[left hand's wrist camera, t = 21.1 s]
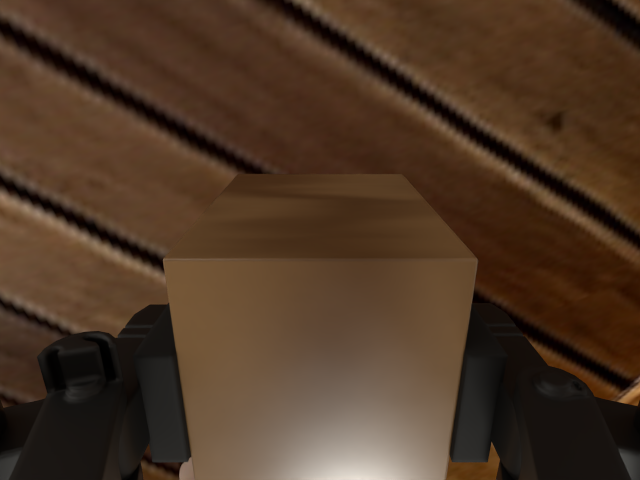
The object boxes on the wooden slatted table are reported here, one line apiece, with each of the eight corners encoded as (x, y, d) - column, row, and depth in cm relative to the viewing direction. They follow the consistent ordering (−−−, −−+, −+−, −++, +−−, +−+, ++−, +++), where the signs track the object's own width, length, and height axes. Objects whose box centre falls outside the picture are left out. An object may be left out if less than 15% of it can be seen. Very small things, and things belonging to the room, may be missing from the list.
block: (248, 333, 17) (197, 512, 10) (237, 173, 14) (161, 258, 7) (391, 333, 17) (442, 512, 10) (403, 173, 14) (479, 259, 7)
